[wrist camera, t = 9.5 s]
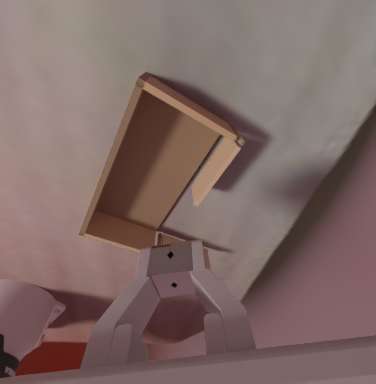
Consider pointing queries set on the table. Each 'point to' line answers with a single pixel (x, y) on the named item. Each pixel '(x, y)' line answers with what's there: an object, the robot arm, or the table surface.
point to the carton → (150, 164)
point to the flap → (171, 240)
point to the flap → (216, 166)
